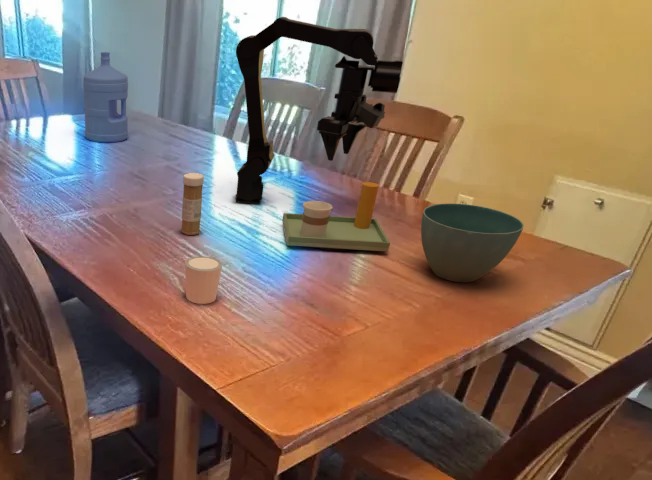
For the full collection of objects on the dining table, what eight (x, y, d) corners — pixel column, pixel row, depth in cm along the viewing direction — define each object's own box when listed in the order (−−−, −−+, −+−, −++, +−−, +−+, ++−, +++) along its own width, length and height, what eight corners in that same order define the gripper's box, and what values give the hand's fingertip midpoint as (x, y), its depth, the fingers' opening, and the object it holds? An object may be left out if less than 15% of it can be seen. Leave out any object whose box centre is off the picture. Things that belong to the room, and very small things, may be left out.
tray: (287, 245, 136) (294, 197, 130) (282, 220, 150) (288, 176, 144) (388, 251, 134) (400, 203, 129) (374, 226, 148) (384, 181, 142)
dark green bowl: (389, 263, 131) (403, 208, 125) (453, 252, 137) (469, 198, 131) (455, 299, 117) (475, 238, 111) (522, 285, 123) (545, 226, 117)
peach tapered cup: (180, 289, 118) (182, 255, 115) (215, 288, 119) (218, 255, 115) (185, 305, 113) (187, 270, 109) (222, 305, 113) (225, 270, 109)
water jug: (80, 141, 218) (76, 54, 203) (91, 132, 231) (88, 49, 216) (123, 144, 216) (122, 56, 201) (131, 134, 229) (131, 51, 214)
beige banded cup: (299, 239, 137) (304, 209, 133) (297, 229, 143) (301, 200, 139) (328, 241, 137) (334, 210, 133) (325, 231, 142) (330, 201, 138)
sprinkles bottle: (194, 227, 147) (197, 171, 140) (203, 234, 144) (207, 176, 136) (177, 230, 145) (179, 173, 138) (186, 236, 142) (189, 178, 135)
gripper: (368, 99, 135) (353, 170, 143) (399, 89, 147) (383, 156, 155) (322, 92, 140) (310, 161, 149) (355, 84, 153) (342, 148, 161)
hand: (338, 157), depth 153 cm, fingers open, 9 cm apart
